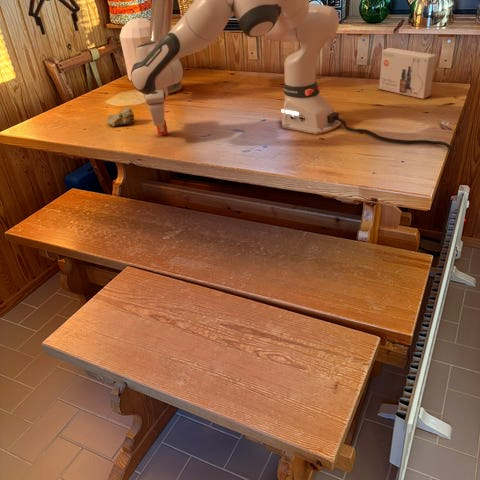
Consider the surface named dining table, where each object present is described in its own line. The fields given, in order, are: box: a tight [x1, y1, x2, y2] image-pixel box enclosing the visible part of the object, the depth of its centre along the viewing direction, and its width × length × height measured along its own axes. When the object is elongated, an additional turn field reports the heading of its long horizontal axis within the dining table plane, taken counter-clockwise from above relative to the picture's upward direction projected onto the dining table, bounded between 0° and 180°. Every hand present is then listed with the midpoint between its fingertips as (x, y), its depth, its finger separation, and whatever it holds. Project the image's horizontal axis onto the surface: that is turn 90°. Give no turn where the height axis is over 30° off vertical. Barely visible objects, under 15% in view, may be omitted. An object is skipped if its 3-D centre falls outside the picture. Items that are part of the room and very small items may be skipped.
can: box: [156, 119, 168, 136], centre depth 171 cm, size 4×4×5 cm
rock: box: [107, 106, 135, 127], centre depth 186 cm, size 11×6×10 cm
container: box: [119, 17, 150, 82], centre depth 235 cm, size 21×21×28 cm
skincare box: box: [378, 47, 437, 100], centre depth 184 cm, size 21×6×16 cm, turn 40°
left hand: (60, 32), depth 191 cm, fingers open, 13 cm apart
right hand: (162, 128), depth 171 cm, fingers closed on can, 3 cm apart
